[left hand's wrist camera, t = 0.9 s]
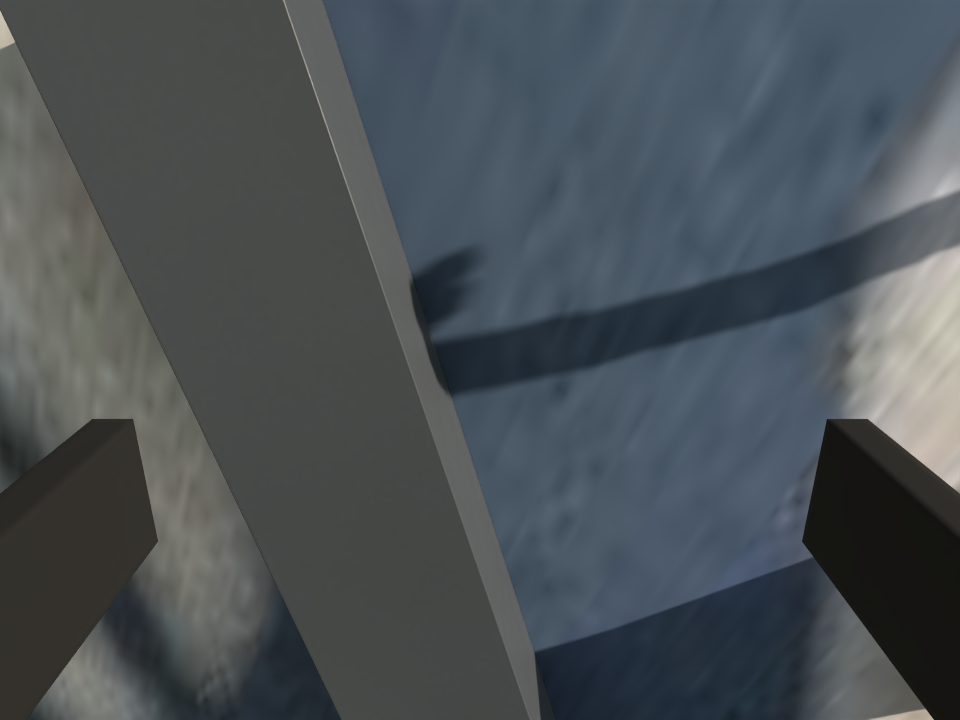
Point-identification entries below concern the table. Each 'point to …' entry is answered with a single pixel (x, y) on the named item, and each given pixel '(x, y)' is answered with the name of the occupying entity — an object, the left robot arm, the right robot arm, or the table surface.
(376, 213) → the wide beam
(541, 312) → the table surface
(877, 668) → the table surface
